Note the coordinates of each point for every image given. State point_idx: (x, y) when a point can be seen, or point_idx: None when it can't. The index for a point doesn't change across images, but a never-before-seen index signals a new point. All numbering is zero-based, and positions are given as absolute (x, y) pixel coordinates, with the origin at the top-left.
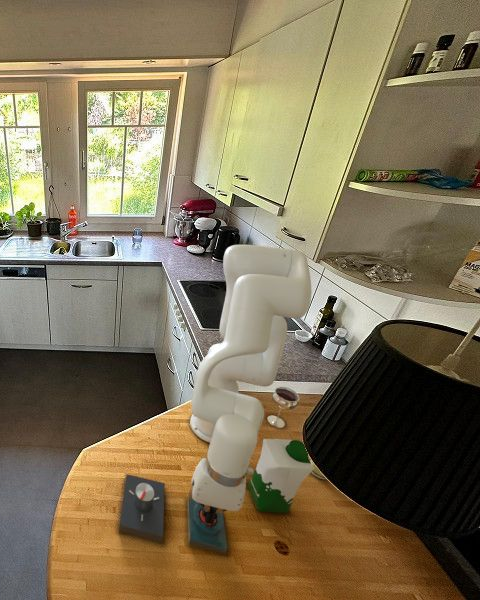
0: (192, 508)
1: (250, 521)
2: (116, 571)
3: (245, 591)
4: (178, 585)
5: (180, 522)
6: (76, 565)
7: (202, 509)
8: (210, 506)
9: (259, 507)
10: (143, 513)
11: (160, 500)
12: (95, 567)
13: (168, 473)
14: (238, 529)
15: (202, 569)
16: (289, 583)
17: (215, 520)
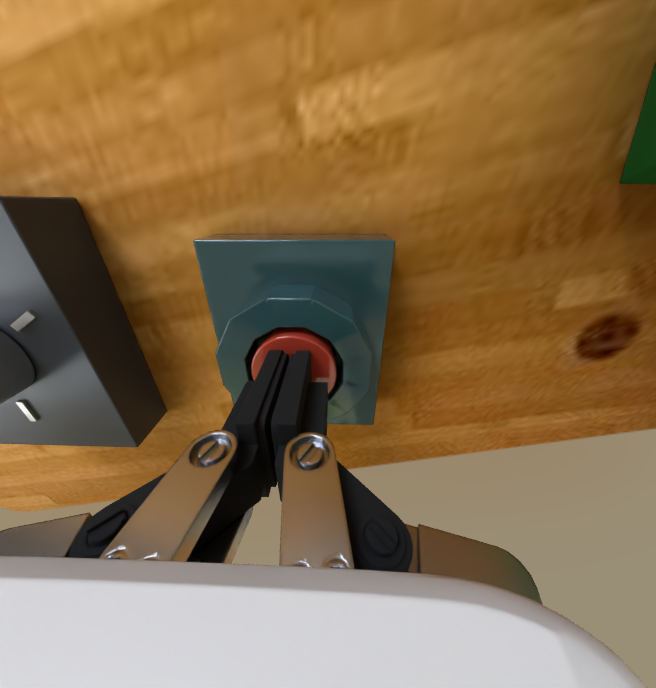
0: (227, 308)
1: (528, 258)
2: (91, 475)
3: (404, 459)
4: None
5: (208, 337)
6: (3, 480)
7: (245, 389)
8: (256, 488)
9: (654, 174)
10: (22, 393)
11: (50, 322)
12: (43, 477)
13: (40, 27)
14: (448, 310)
15: None
16: (548, 427)
17: (330, 386)
